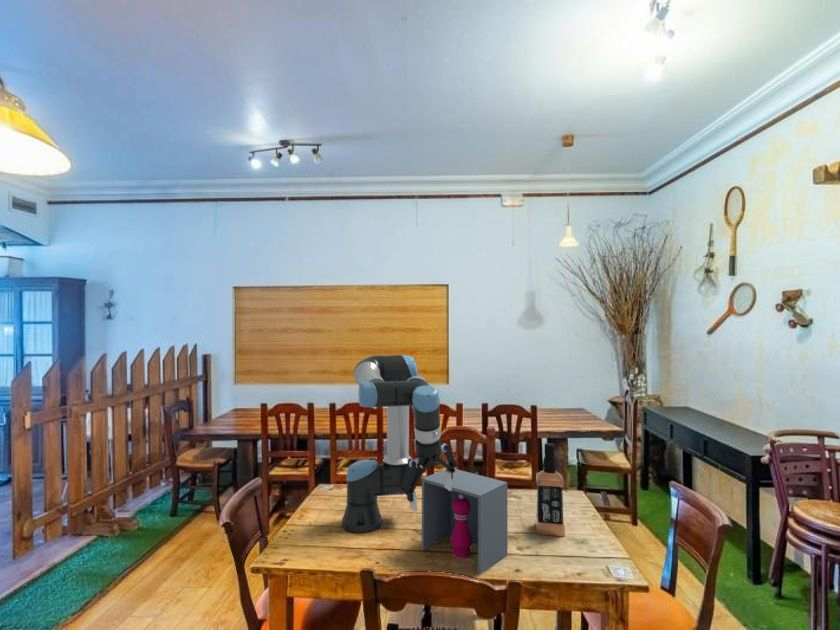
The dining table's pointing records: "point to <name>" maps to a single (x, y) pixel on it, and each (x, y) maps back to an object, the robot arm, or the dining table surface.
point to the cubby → (483, 514)
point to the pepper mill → (461, 528)
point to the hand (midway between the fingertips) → (431, 498)
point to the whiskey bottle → (549, 496)
